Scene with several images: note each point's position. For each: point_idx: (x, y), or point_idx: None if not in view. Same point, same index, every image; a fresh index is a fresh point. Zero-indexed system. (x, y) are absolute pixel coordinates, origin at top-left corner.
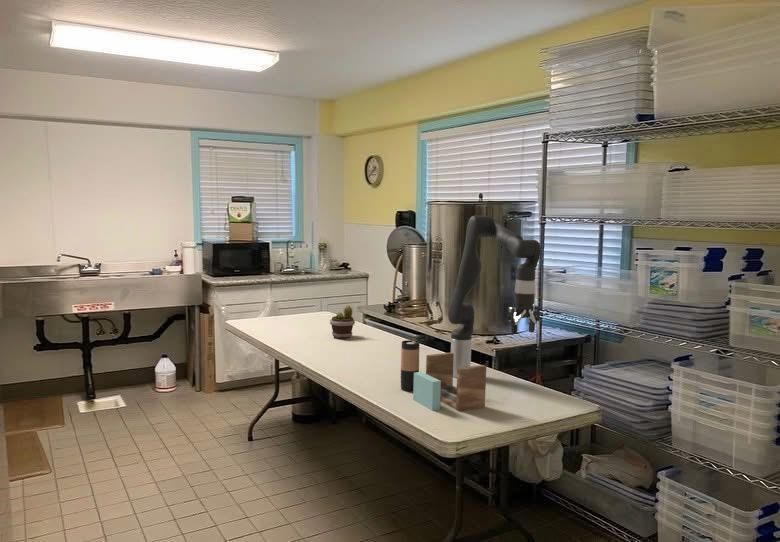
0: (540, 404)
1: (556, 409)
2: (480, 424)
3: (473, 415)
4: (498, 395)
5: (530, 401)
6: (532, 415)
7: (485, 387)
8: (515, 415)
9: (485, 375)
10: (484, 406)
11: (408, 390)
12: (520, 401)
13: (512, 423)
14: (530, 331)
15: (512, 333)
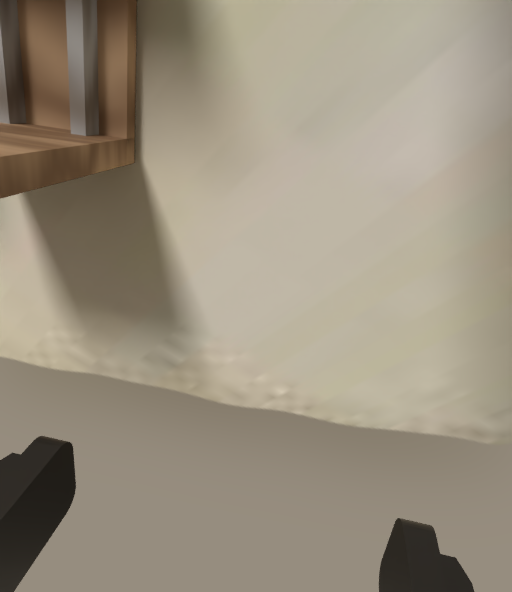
0: (382, 283)
1: (379, 359)
2: (8, 293)
3: (32, 213)
4: (325, 56)
5: (382, 229)
6: (236, 343)
7: (85, 175)
8: (178, 307)
9: (39, 185)
10: (131, 162)
11: None
12: (340, 201)
13: (113, 349)
14: (389, 550)
15: (45, 441)
